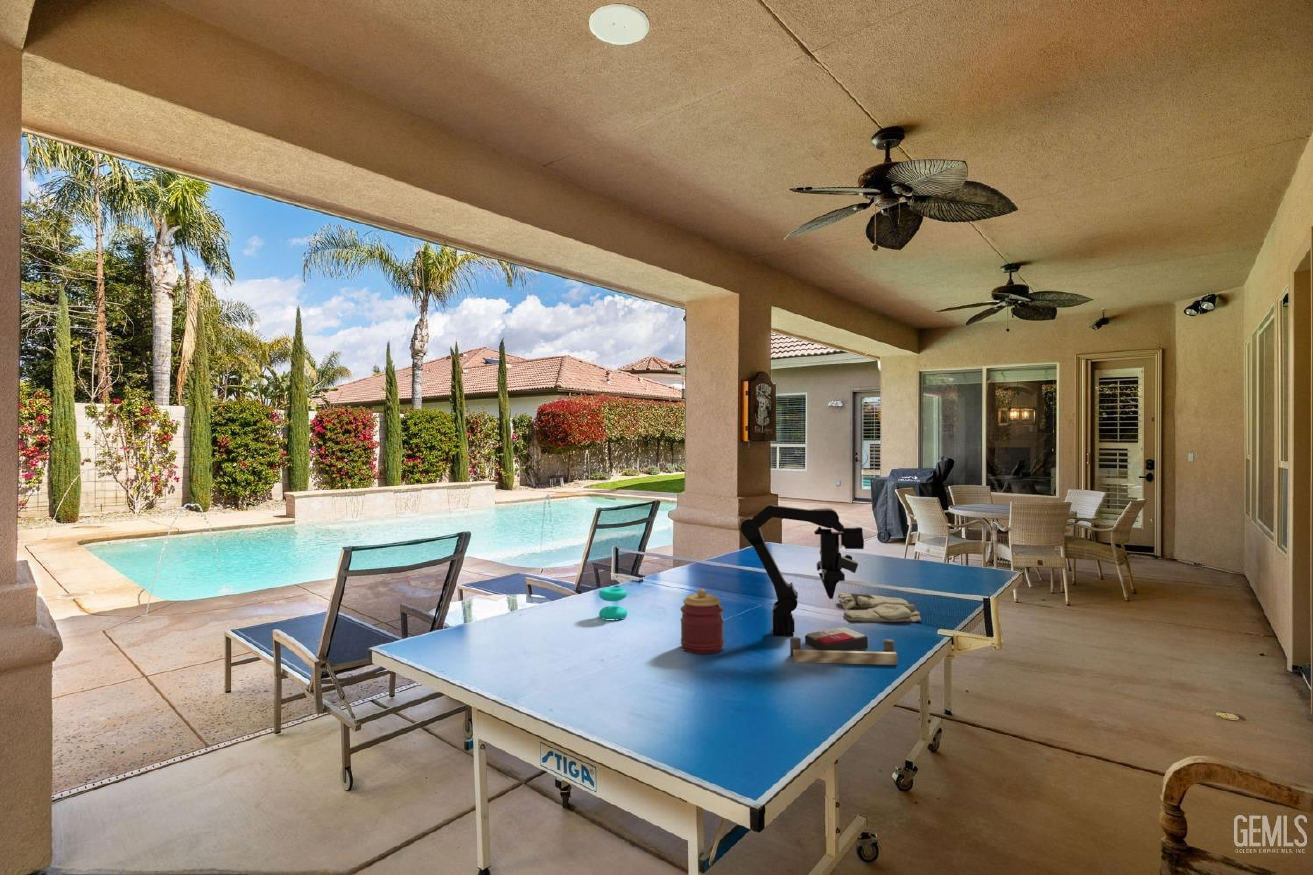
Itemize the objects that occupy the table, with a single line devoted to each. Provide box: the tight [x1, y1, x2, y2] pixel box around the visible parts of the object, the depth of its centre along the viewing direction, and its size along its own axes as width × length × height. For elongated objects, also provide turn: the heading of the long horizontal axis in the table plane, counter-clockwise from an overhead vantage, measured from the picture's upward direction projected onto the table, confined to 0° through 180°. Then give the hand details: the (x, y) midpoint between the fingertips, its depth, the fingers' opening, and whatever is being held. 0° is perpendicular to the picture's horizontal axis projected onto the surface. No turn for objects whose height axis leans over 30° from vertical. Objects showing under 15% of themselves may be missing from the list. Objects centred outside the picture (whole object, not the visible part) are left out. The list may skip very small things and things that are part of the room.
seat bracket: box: [789, 636, 898, 666], centre depth 185 cm, size 29×7×5 cm, turn 83°
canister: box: [679, 588, 725, 655], centre depth 197 cm, size 13×13×18 cm
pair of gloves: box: [837, 592, 922, 623], centre depth 236 cm, size 30×26×5 cm
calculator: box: [804, 626, 869, 651], centre depth 198 cm, size 11×4×15 cm
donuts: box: [598, 586, 628, 620], centre depth 233 cm, size 10×10×10 cm
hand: (830, 597), depth 208 cm, fingers open, 2 cm apart
